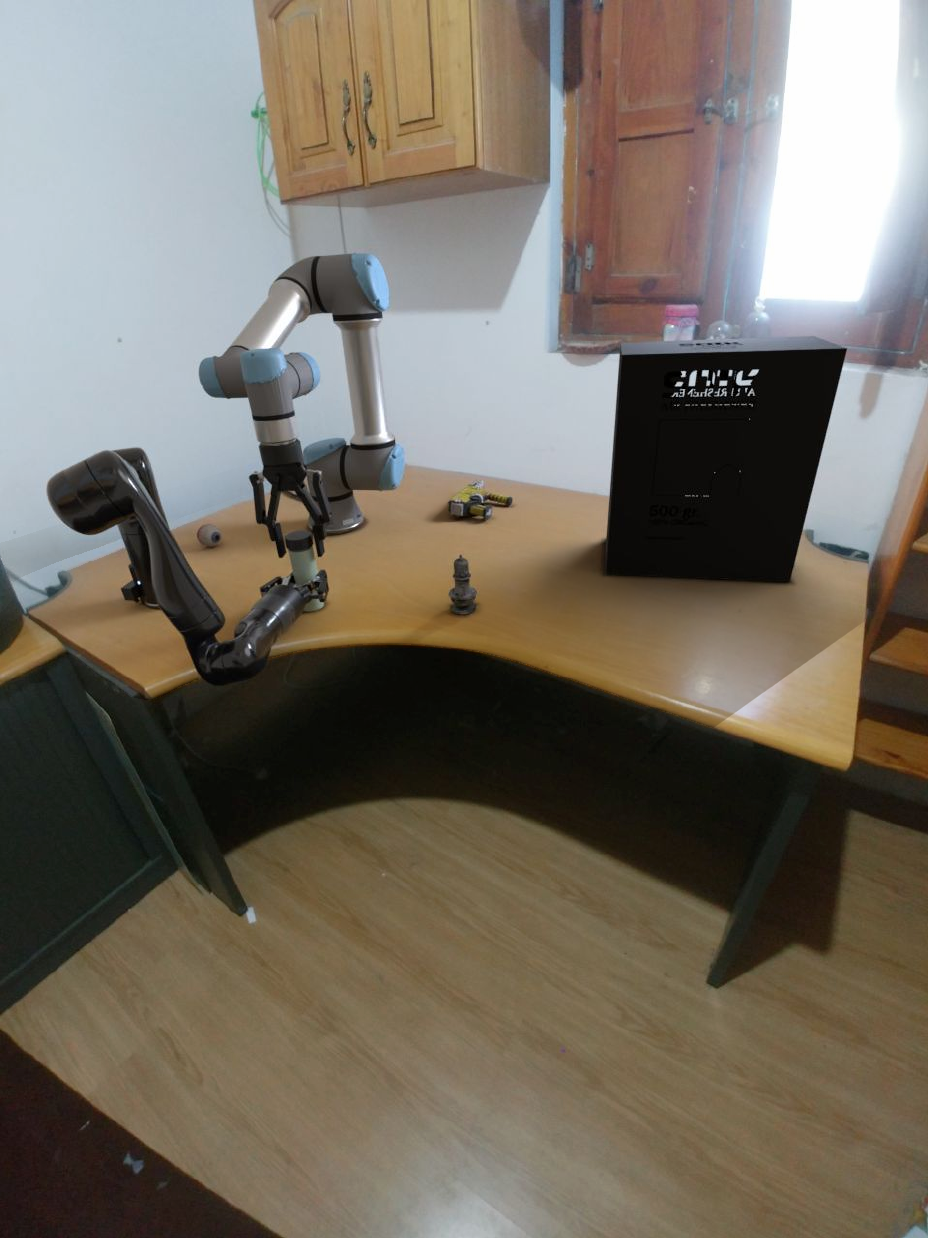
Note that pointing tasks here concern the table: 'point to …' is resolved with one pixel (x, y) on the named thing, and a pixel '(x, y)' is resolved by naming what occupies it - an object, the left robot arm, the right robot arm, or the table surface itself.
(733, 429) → the cardboard box
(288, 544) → the lid
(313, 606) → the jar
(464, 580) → the dark grey turned figure
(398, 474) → the right robot arm
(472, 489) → the toy gun
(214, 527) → the eyeball
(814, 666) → the table surface
